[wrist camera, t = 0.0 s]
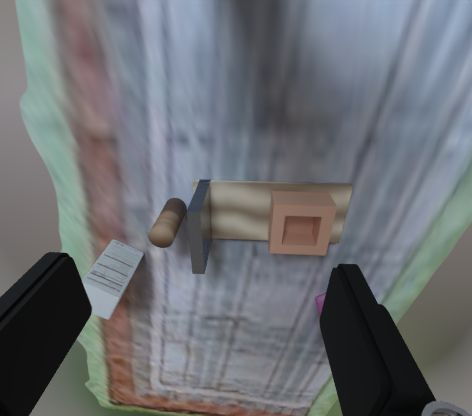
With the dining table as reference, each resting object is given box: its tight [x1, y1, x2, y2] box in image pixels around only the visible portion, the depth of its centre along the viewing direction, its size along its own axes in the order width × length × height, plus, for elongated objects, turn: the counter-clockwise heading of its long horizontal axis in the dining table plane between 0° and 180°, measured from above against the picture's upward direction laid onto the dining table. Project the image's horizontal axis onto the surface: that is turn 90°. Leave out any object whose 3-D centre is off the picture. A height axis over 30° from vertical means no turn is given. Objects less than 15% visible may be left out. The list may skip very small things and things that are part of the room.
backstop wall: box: [187, 180, 212, 274], centre depth 46 cm, size 12×2×12 cm, turn 179°
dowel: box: [149, 198, 186, 248], centre depth 47 cm, size 4×4×10 cm
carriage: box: [268, 191, 337, 255], centre depth 46 cm, size 10×10×5 cm
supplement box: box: [82, 239, 144, 319], centre depth 52 cm, size 7×7×13 cm
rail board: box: [193, 179, 353, 243], centre depth 50 cm, size 12×28×2 cm, turn 89°
